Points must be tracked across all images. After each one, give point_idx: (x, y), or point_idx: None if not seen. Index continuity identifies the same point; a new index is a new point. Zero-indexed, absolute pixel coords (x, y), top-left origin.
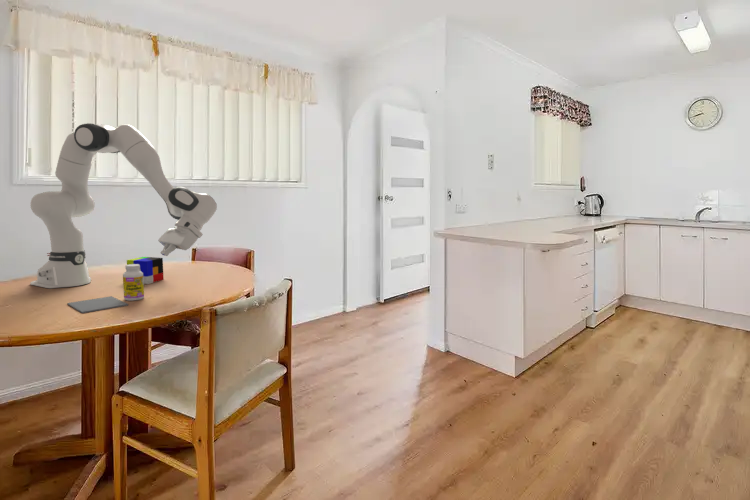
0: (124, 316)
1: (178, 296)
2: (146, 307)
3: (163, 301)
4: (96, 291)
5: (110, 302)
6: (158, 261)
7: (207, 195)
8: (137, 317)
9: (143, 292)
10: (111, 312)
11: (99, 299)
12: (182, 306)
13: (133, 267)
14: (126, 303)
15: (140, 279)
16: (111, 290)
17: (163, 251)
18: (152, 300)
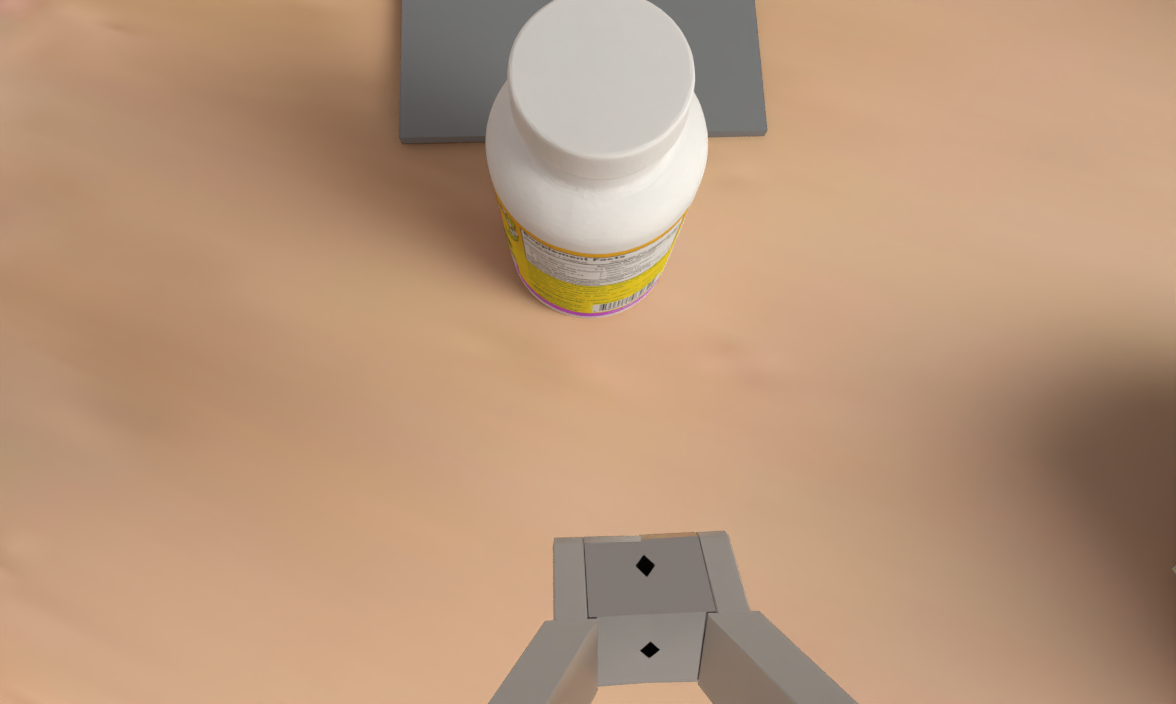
0: (109, 29)
1: (406, 573)
2: (234, 219)
3: (322, 392)
4: (1079, 118)
5: None
6: None
7: None
8: (10, 79)
9: (538, 290)
10: (287, 3)
11: (706, 35)
12: (29, 442)
13: (509, 62)
14: (425, 134)
15: (500, 207)
16: (1050, 215)
17: (631, 567)
18: (427, 337)
